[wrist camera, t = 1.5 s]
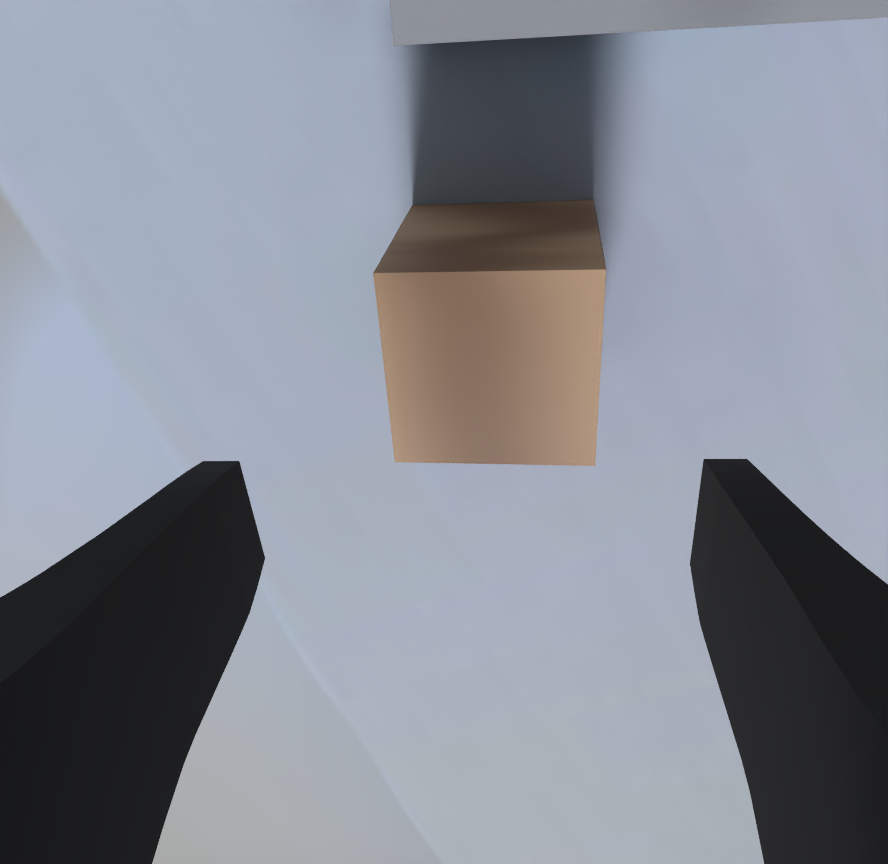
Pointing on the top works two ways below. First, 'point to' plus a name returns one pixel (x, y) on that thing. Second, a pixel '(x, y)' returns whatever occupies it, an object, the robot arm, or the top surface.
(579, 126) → the top surface
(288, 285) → the top surface
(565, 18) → the slate base
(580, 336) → the walnut block
